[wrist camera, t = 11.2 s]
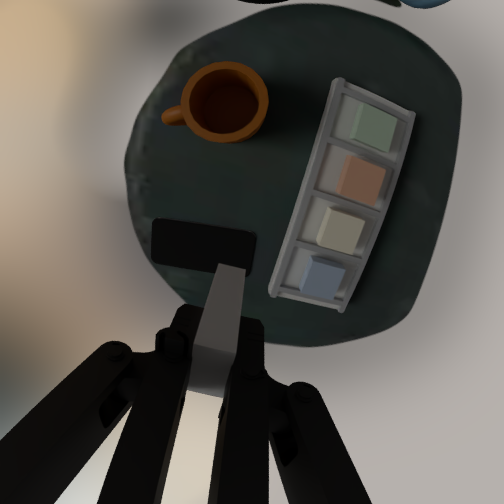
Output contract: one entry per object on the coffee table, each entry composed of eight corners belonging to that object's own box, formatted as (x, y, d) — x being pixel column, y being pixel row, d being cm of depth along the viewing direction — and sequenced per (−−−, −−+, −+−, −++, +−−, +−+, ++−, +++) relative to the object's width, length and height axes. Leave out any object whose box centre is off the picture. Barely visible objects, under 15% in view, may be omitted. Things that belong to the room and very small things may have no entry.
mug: (177, 81, 31) (155, 63, 23) (267, 81, 31) (271, 61, 23) (173, 144, 34) (149, 143, 26) (263, 146, 35) (266, 144, 26)
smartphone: (248, 279, 41) (150, 263, 41) (248, 277, 42) (152, 261, 41) (256, 232, 39) (152, 216, 38) (256, 230, 39) (153, 215, 39)
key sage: (358, 104, 30) (364, 102, 28) (390, 119, 30) (397, 118, 28) (349, 138, 31) (354, 138, 29) (381, 152, 32) (388, 152, 30)
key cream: (327, 206, 35) (331, 209, 33) (360, 216, 35) (365, 220, 33) (315, 240, 36) (318, 245, 34) (347, 249, 37) (352, 255, 35)
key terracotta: (346, 154, 31) (351, 155, 29) (379, 168, 32) (386, 169, 30) (335, 191, 33) (339, 194, 31) (368, 202, 33) (374, 206, 31)
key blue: (310, 255, 37) (312, 261, 35) (341, 263, 37) (345, 269, 36) (298, 285, 39) (300, 292, 37) (329, 293, 39) (332, 300, 37)
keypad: (332, 81, 31) (337, 76, 28) (407, 114, 32) (417, 113, 29) (268, 286, 42) (268, 296, 39) (339, 303, 43) (344, 313, 40)
